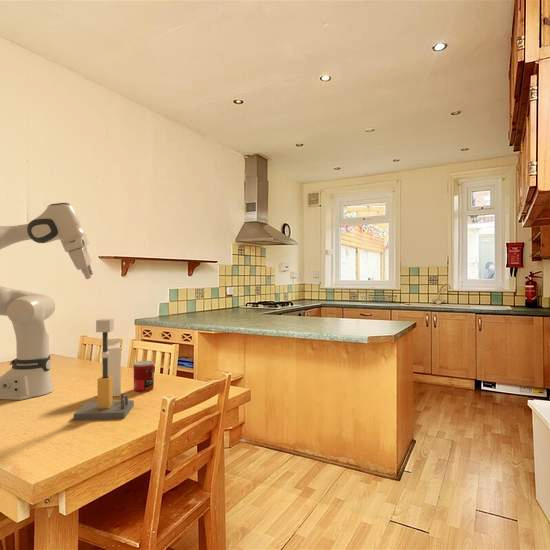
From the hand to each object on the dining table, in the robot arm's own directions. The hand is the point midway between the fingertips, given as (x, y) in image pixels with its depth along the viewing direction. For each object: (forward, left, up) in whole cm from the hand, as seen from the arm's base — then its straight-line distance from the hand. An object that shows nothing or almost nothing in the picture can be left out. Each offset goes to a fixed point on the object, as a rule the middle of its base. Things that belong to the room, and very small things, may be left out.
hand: (89, 276), depth 153 cm
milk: (+9, -1, -47) cm, 47 cm away
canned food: (+20, +5, -47) cm, 51 cm away
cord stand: (+13, -21, -46) cm, 53 cm away
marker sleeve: (+13, -21, -44) cm, 51 cm away
